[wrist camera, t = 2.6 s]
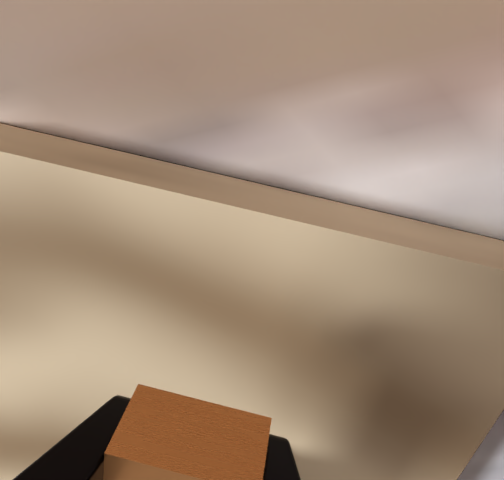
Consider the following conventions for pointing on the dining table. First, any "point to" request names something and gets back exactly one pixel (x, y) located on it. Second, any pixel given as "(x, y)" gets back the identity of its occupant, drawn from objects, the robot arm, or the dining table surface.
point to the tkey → (185, 440)
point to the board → (241, 311)
